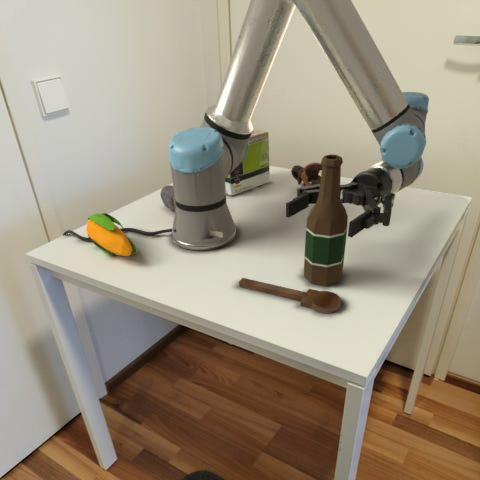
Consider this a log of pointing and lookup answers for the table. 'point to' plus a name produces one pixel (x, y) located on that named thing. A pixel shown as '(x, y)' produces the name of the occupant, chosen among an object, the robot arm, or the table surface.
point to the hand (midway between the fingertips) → (317, 219)
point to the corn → (109, 235)
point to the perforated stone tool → (168, 197)
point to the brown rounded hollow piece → (307, 174)
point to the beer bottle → (326, 228)
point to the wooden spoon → (298, 295)
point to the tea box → (251, 166)
